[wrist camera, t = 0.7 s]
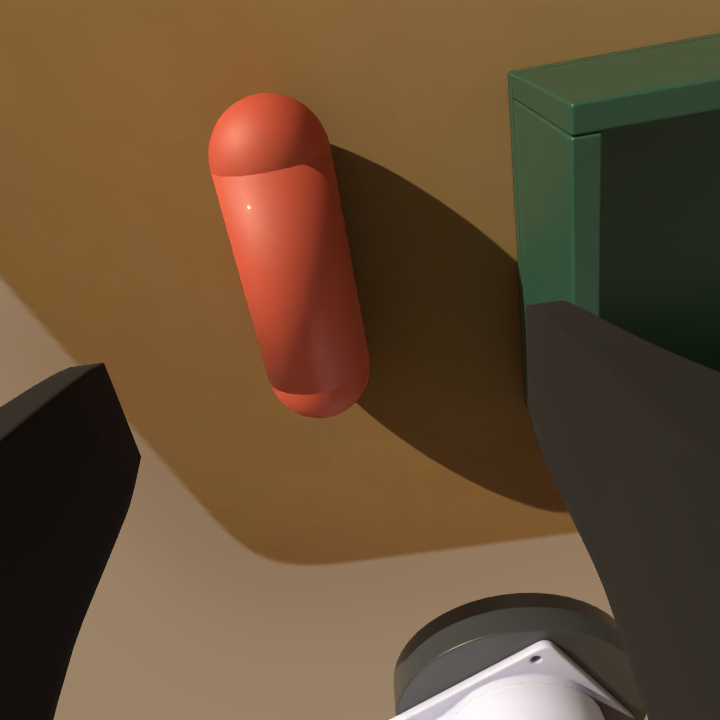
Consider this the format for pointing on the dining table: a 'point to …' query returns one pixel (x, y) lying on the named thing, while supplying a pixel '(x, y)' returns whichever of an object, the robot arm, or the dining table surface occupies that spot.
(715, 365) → the bin
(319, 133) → the red capsule pill
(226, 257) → the dining table surface
